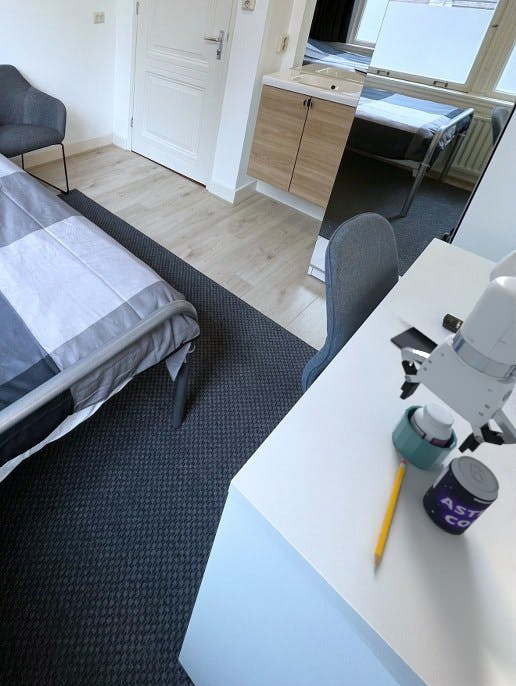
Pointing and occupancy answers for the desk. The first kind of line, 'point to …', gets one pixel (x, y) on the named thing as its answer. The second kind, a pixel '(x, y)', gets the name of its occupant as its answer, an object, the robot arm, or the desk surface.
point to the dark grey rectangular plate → (415, 341)
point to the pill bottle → (433, 423)
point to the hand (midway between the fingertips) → (433, 420)
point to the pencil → (389, 512)
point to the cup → (420, 444)
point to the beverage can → (460, 494)
